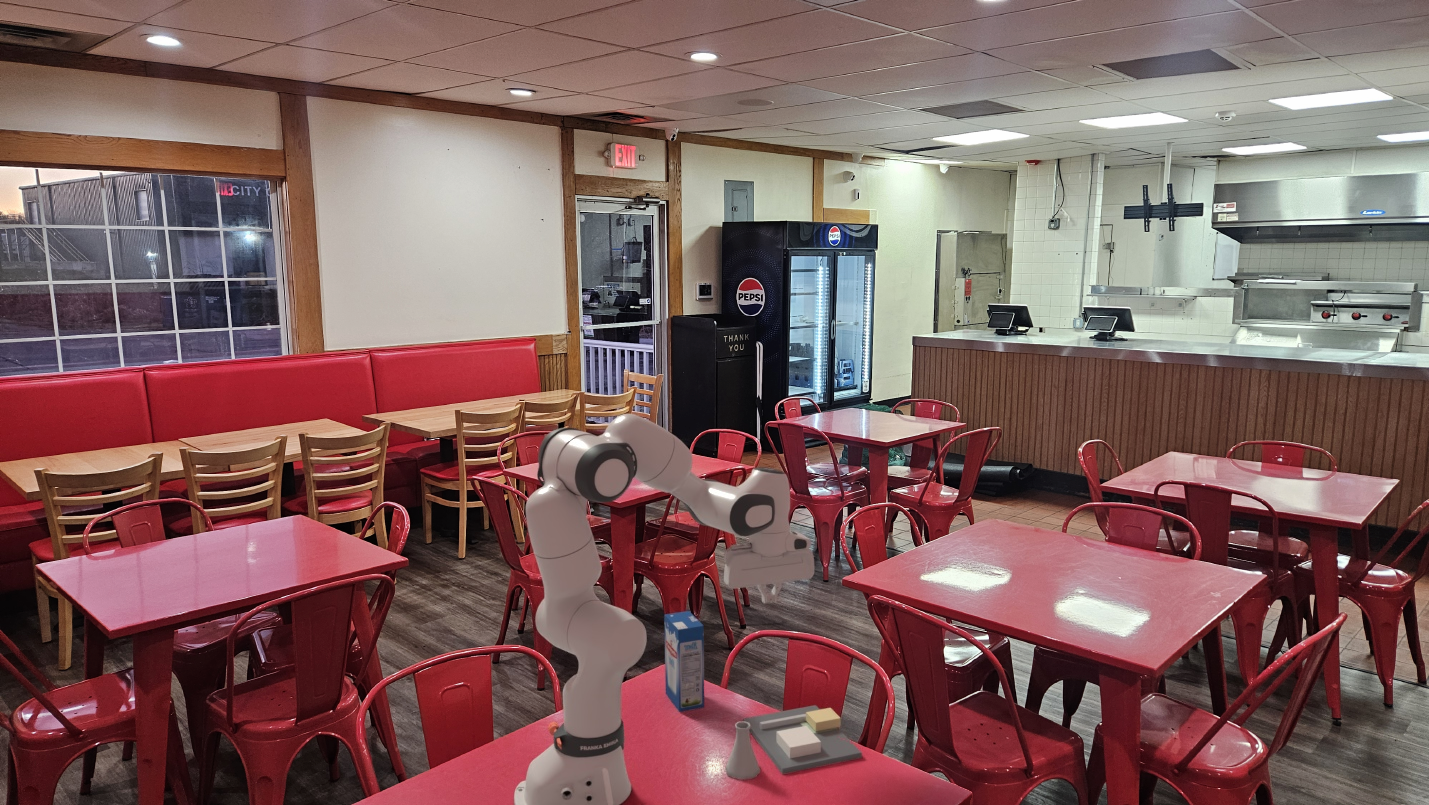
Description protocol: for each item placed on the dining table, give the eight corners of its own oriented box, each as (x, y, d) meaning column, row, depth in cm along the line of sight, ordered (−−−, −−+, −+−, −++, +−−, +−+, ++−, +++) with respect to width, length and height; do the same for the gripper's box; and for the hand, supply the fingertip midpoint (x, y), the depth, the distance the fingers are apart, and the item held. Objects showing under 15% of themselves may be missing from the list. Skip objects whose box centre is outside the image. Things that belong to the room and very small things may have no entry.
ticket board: (782, 774, 184) (782, 757, 183) (743, 723, 204) (743, 708, 204) (861, 757, 190) (861, 741, 189) (815, 710, 210) (815, 695, 210)
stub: (815, 731, 198) (815, 722, 197) (805, 720, 202) (806, 712, 202) (840, 726, 200) (840, 718, 199) (830, 716, 204) (830, 707, 204)
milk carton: (704, 707, 212) (703, 625, 209) (679, 712, 210) (678, 629, 207) (689, 689, 221) (688, 610, 218) (665, 693, 219) (664, 614, 216)
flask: (757, 782, 181) (757, 735, 180) (722, 778, 183) (721, 732, 181) (763, 763, 188) (763, 718, 187) (728, 759, 190) (728, 714, 188)
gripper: (729, 550, 191) (729, 613, 193) (817, 540, 197) (817, 601, 199) (719, 541, 196) (719, 603, 199) (805, 532, 203) (805, 591, 205)
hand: (769, 602), depth 199 cm, fingers closed
